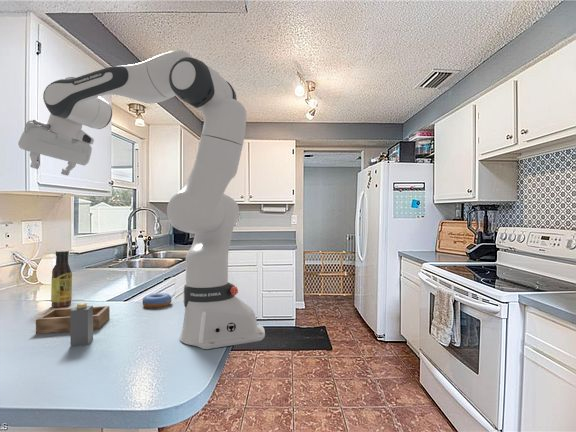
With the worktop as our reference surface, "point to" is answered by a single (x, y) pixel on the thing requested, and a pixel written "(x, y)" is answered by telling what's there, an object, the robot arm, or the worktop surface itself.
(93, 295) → the worktop surface
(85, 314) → the push button
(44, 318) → the caddy
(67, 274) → the sauce bottle
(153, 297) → the doughnut
